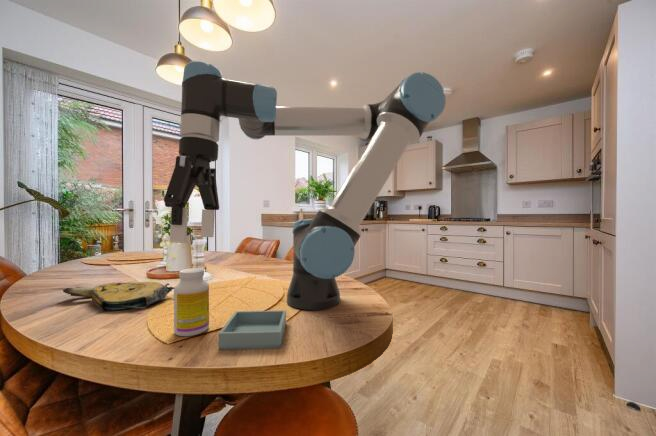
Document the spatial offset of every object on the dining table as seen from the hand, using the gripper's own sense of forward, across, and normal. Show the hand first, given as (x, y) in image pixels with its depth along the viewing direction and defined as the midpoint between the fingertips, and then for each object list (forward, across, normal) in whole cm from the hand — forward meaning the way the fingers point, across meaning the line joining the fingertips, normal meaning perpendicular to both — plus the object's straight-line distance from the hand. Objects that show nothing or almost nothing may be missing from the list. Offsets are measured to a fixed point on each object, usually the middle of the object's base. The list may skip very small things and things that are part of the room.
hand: (194, 239), depth 57 cm
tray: (+19, +3, +15) cm, 24 cm away
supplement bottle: (+20, 0, +1) cm, 20 cm away
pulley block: (+21, -19, -29) cm, 40 cm away
